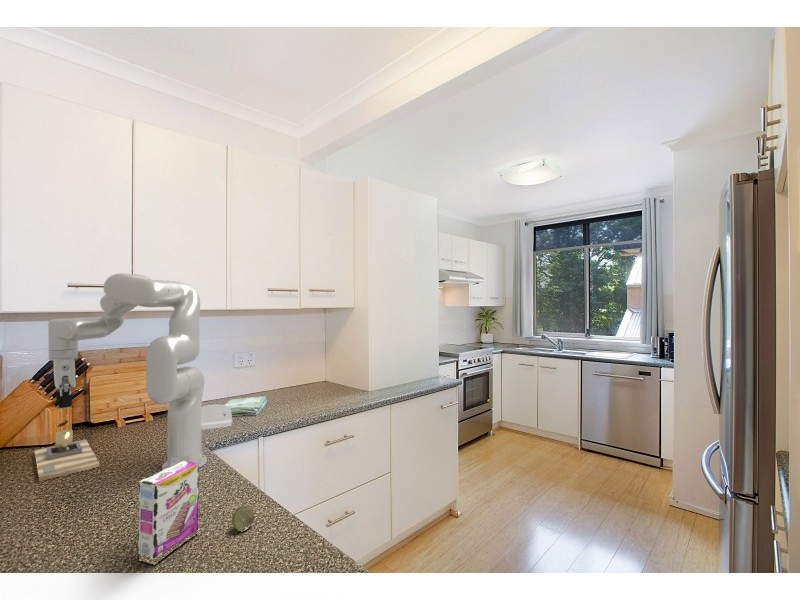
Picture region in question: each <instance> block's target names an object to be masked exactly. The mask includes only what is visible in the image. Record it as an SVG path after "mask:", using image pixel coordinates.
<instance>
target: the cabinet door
mask: <svg viewBox="0 0 800 600" xmlns="http://www.w3.org/2000/svg"><path fill="white" fill-rule="evenodd" d="M33 453H35V454H34V460H35V459H36V460H35V465H37V466H36V472H37V478H38V477H39V478H38V482H39V481H42V480H46V479H51V478H55V477H59V478H61V477H60V476H63V477H65V476H64V475H67V476H69V475H68V474H71V475H73V474H72V473H75V474H77V473H76V472H79V473H82V472H81V471H83V472H86V471H85V470H87V471H90V470H89V469H91V470H93V469H92V468H95V469H97V468H96V467H99V468H100V462H99V460H98V458H97V456H96V454H95V453H94V451H93V449H92V447H91V446H90V444H89V442H88V440H87V439H83V440H77V441H73V450H68V451H63V452H59V453H56V445H53V446H49V447H43V448H38V449H37V448H36V449H34V452H33ZM55 479H56V478H55ZM51 480H52V479H51Z"/></svg>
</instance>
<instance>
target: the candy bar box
mask: <svg viewBox="0 0 800 600" xmlns="http://www.w3.org/2000/svg"><path fill="white" fill-rule="evenodd" d="M199 469H200V468H199V463H194V462H187V461H182V462H180V463H177V464H175V465H173V466H171V467H169V468H167V469H165V470H161V471H158V472H156V473H154V474H151V475H149V476H148V477H145V478H143V479H141V480H139V481H138V513H137V514H138V521H137V523H138V524H137V525H138V528H137V530H138V531H137V535H138V536H137V538H138V539H137V540H138V541H137V555H138V554H141V555H145V556H149V557H153V558H155V557H157V556H159V555H161V554H162V553H164V552H165V551H166V550H168V549H170V548H171V547H173V546H174V545H176V544H177V543H179V542H181V541H182V540H184V539H185V538H187V537H188V536H190V535H191V534H192V533H194V532H196V531H197V530H198V531H199V484H200V483H199V479H200V476H199V475H200V473H199V472H200V471H199Z"/></svg>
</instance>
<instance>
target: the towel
mask: <svg viewBox="0 0 800 600" xmlns="http://www.w3.org/2000/svg"><path fill="white" fill-rule="evenodd" d="M267 403H268V397H267V396H264V395H262V396H253V397H252V396H251V397H244V398H243V397H242V398H233V399H229V400H228V401H227V402H225V404H224V405H225V406H229V407H230V408H231V414H232V417H239V416H241V417H242V416H243V415H245V416H251V415H254V416H257V415H256V414H259V412H260V411H261V410H262V409H263V410H264V408H265V407H266V406H265V405H267ZM263 410H262V411H263ZM262 411H261V412H262ZM261 412H260V413H261ZM259 415H260V414H259ZM243 417H244V416H243Z"/></svg>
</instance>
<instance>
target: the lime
mask: <svg viewBox="0 0 800 600" xmlns="http://www.w3.org/2000/svg"><path fill="white" fill-rule="evenodd" d="M254 522H255V513H254V511H253V509H252V508H250V507H249V506H245V505H244V506H241V507H239V508H237V510H235V511H234V512H233V514H232V517H231V524H232V526H233V528H234V530H236V531H237V532H239V531H240V530H242V529H244V528H245V527H247V526H249V525H251V524H252V525H253V524H254ZM252 525H251V526H252Z"/></svg>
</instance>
